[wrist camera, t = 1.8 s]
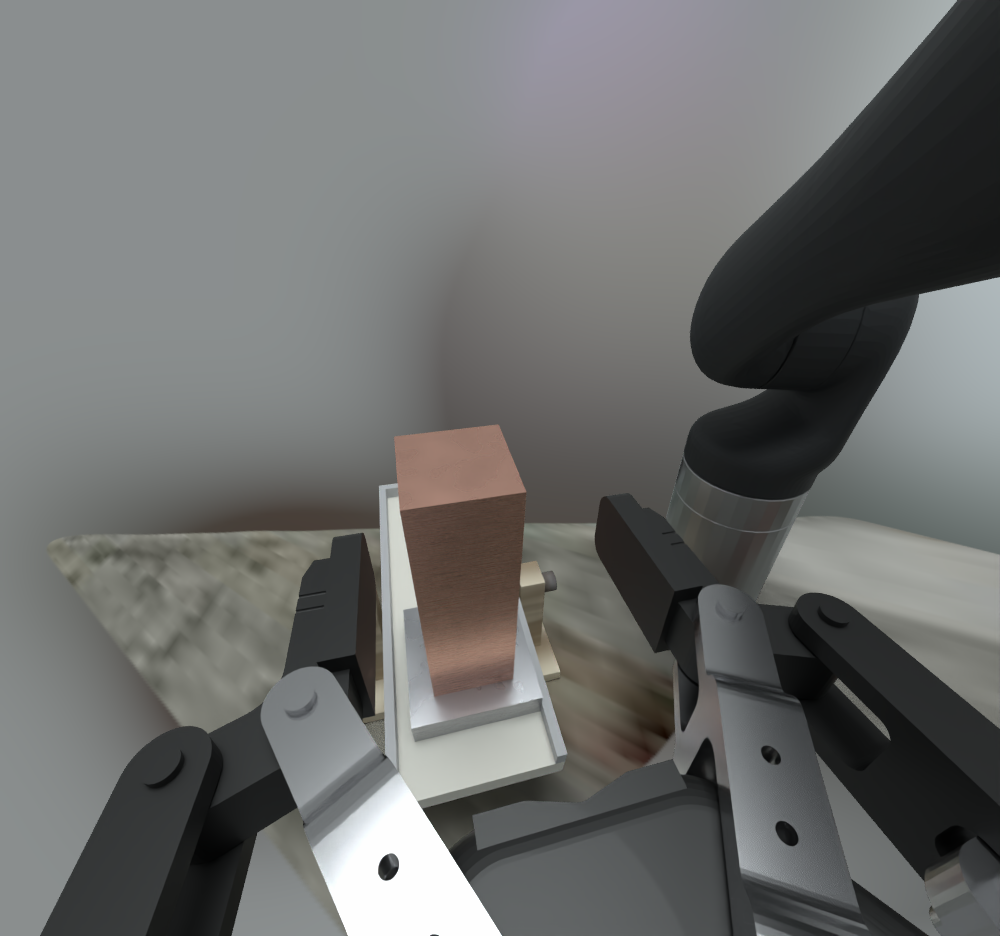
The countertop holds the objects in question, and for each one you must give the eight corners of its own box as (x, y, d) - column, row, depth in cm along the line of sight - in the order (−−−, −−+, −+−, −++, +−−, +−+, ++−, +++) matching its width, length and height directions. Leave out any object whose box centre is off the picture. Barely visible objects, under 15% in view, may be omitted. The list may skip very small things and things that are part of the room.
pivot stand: (562, 677, 38) (571, 607, 33) (354, 725, 35) (327, 656, 30) (536, 604, 44) (540, 536, 39) (358, 639, 41) (336, 570, 36)
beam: (562, 770, 27) (567, 753, 25) (393, 816, 25) (386, 802, 23) (481, 492, 46) (480, 472, 45) (383, 506, 45) (379, 485, 43)
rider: (540, 711, 28) (574, 512, 17) (414, 742, 26) (358, 546, 15) (510, 604, 34) (520, 405, 23) (406, 625, 32) (361, 423, 21)
